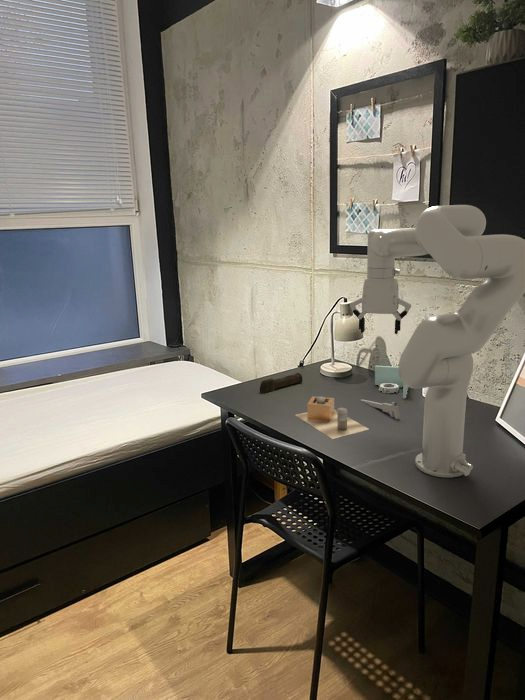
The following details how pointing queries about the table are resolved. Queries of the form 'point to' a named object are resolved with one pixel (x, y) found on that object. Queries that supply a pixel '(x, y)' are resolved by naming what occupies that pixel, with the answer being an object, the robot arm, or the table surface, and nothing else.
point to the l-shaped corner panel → (389, 380)
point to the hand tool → (279, 382)
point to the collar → (320, 409)
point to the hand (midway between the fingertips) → (379, 332)
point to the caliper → (385, 407)
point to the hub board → (334, 423)
